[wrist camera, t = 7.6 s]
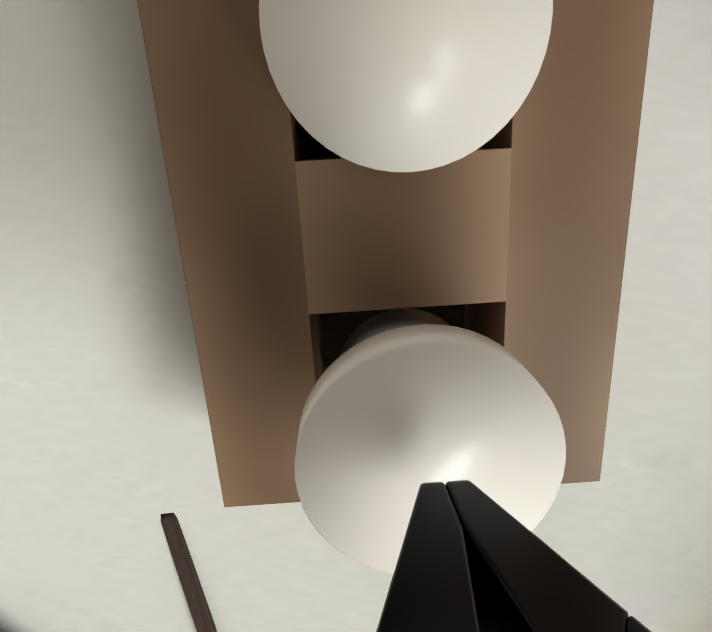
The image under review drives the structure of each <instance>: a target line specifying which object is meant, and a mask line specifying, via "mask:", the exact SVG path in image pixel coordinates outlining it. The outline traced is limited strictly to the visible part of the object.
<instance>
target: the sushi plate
mask: <svg viewBox="0 0 712 632" xmlns="http://www.w3.org/2000/svg"><path fill="white" fill-rule="evenodd" d="M161 522H162V526H163V529H164V532H165V535H166V539H167V542H168V545H169V548H170V551H171V554H172V557H173V560H174V563H175V566H176V569H177V572H178V575H179V578H180V581H181V584H182V587H183V590H184V593H185V596H186V599H187V602H188V605H189V608H190V611H191V614H192V617H193V620H194V623H195V626H196V629H197V632H217V630H216V627H215V624H214V621H213V618H212V615H211V612H210V609H209V607H208V604H207V601H206V598H205V595H204V592H203V589H202V587H201V584H200V581H199V578H198V575H197V572H196V570H195V567H194V564H193V561H192V558H191V555H190V552H189V550H188V547H187V544H186V541H185V539H184V536H183V533H182V530H181V528H180V525H179V522H178V519H177V517H176V516H175V514H174V513H167V514H161Z"/></svg>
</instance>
